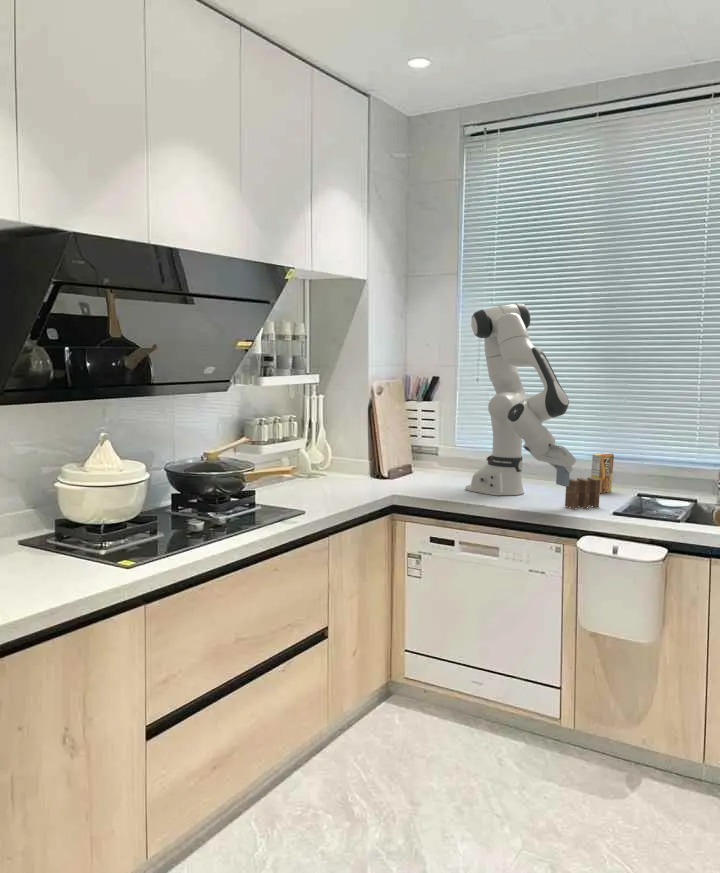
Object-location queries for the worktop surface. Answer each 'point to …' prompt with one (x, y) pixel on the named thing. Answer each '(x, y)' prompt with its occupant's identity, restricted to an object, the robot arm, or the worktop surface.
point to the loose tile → (562, 476)
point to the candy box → (603, 470)
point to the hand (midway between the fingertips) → (564, 469)
